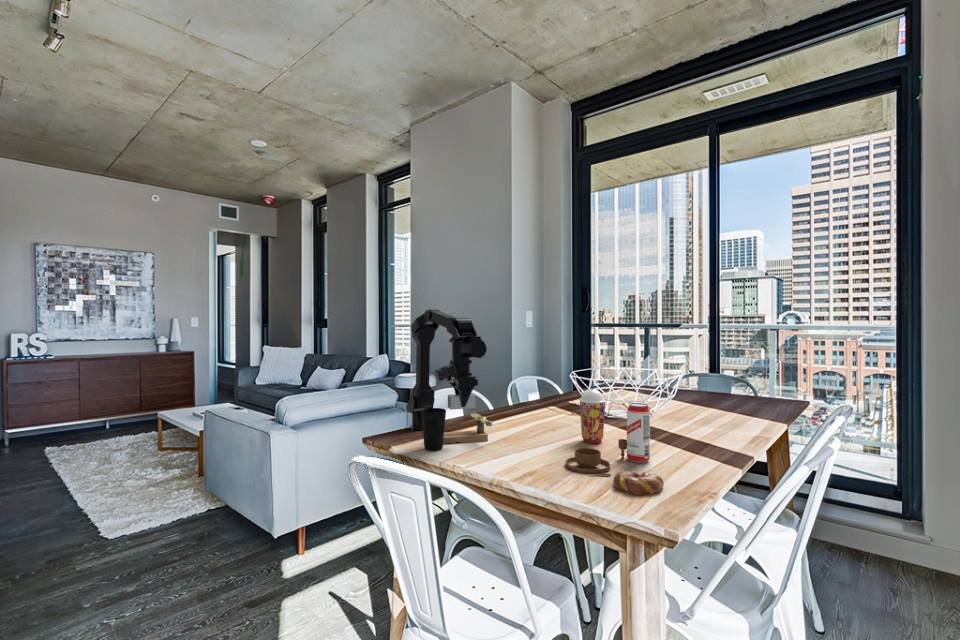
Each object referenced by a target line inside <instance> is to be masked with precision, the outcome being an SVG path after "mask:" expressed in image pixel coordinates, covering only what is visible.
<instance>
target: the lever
mask: <svg viewBox="0 0 960 640" xmlns="http://www.w3.org/2000/svg"><path fill="white" fill-rule="evenodd" d="M470 416H471V417H472V418H474V420H475V421H476V422H477V421H481V422H482V423H484V425H485V427H492V426H493V421H492V420H488V419H487V417H486V416H483V415H480V414H479V413H470Z"/></svg>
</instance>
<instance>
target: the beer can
mask: <svg viewBox="0 0 960 640" xmlns="http://www.w3.org/2000/svg"><path fill="white" fill-rule="evenodd" d="M648 405H649V404H646V403H641V402H630V403H629V404H628V407H627V409H626V440H627V448H626V458H627V459H628V460H629V462H632V463H636V464H644V463H645V464H646V463H647V462H649V460H650V458H651V457H650V456H651V453H650V452H651V411H650V409H649V407H648Z"/></svg>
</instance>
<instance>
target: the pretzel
mask: <svg viewBox="0 0 960 640" xmlns="http://www.w3.org/2000/svg"><path fill="white" fill-rule="evenodd" d="M612 482H613V486H614V487H615V488H616V489H617V490H619V491H621V492H624V493H629V494H630V495H634V496H644V495H648V494H650V495H651V494H652V495H653V494H654V493H655V494H658V493H660V492H661V491H662V489H663V488H664V485H665V483H664V481H663V478H662V477H661V476H660V475H658V474H656V473H648V472H640V471H638V470H622V471H619V472H618V473H616V474H615V475H614V477H613V480H612Z"/></svg>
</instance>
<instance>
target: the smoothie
mask: <svg viewBox="0 0 960 640" xmlns="http://www.w3.org/2000/svg"><path fill="white" fill-rule="evenodd" d="M594 385H595V384H594V380H591V388H589V389H587V390H586V391H584V392H583V393H582V394H581V396H580V398H579V409H580V412H579V413H580V429H581V438H582V440H583V442H584V443H586V442H587V443H586V444H591V443H598V444H601V443H602V440H603V439H604V431H605V417H606V416H605V414H606V413H605V412H606V402H607V400H606V399H605V396H604V395H603V394H602V393H601V392H600V391H599V390H597V389H595V388H594ZM600 442H601V443H600Z"/></svg>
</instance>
